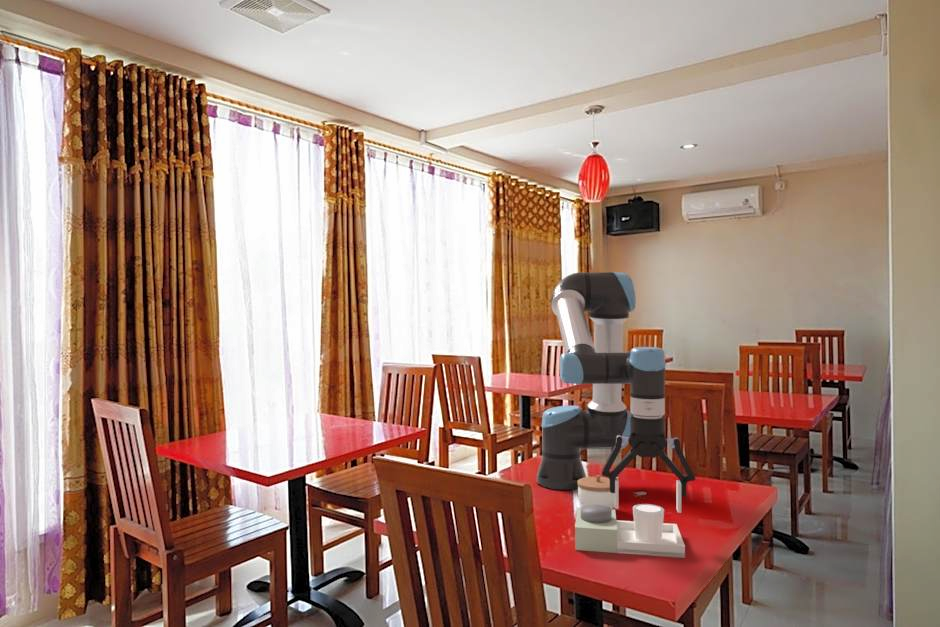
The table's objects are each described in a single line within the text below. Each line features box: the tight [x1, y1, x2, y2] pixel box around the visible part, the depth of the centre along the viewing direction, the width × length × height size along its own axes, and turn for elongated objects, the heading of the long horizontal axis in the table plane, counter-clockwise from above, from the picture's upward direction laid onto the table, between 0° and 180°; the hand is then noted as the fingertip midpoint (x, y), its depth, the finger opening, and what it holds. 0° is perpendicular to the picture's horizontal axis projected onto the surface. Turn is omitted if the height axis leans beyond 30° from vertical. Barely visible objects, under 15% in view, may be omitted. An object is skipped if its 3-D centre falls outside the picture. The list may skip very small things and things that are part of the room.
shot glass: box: [632, 503, 665, 543], centre depth 138 cm, size 7×7×7 cm
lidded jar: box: [577, 474, 615, 510], centre depth 161 cm, size 11×11×9 cm
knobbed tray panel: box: [574, 505, 686, 559], centre depth 139 cm, size 14×23×7 cm, turn 78°
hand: (647, 509), depth 138 cm, fingers open, 13 cm apart
